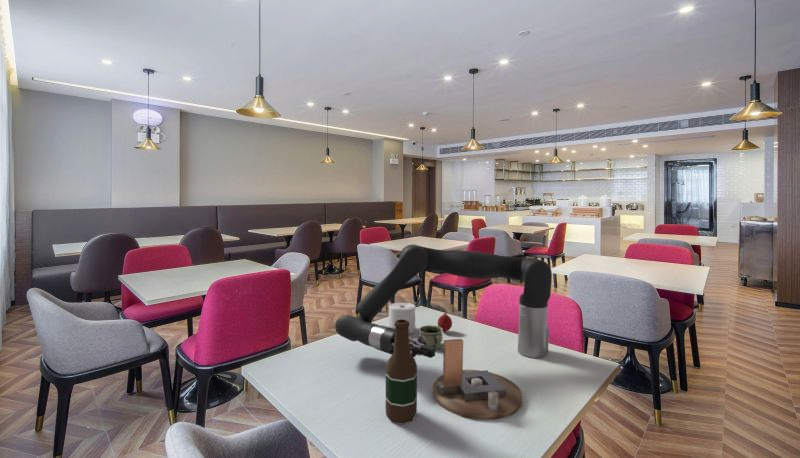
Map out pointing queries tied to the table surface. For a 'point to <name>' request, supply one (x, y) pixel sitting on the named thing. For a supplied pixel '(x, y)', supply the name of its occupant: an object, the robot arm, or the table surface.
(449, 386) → the handled square nut
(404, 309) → the toilet tissue
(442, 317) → the red oval fruit
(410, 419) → the beer bottle
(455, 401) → the post base
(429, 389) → the table surface
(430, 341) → the vessel
